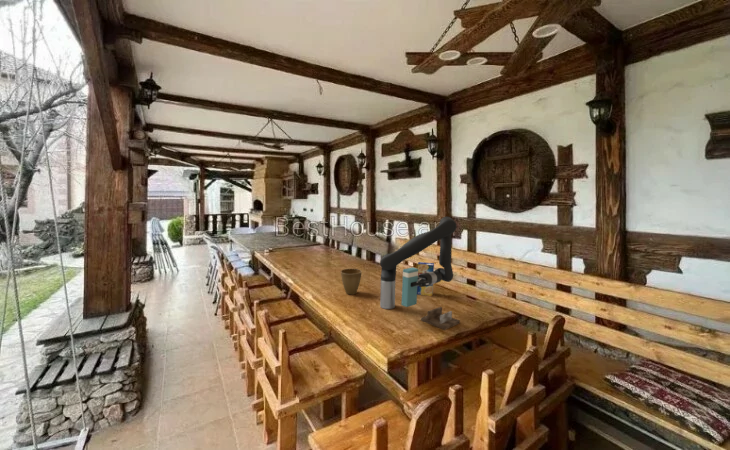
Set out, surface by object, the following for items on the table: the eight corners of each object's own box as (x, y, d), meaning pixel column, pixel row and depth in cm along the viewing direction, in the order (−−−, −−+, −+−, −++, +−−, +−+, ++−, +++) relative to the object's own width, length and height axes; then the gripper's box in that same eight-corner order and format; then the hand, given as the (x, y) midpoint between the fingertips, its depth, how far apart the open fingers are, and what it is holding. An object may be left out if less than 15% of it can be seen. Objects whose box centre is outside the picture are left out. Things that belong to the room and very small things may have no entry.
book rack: (435, 314, 186) (436, 304, 185) (459, 323, 174) (460, 312, 173) (420, 320, 177) (421, 310, 176) (444, 330, 165) (445, 318, 164)
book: (411, 301, 178) (412, 267, 176) (416, 304, 175) (418, 268, 173) (401, 304, 173) (403, 269, 171) (406, 307, 170) (408, 271, 168)
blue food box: (432, 296, 220) (433, 265, 218) (416, 294, 223) (417, 264, 221) (433, 293, 226) (434, 263, 224) (417, 291, 229) (418, 262, 227)
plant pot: (338, 291, 228) (338, 269, 227) (357, 289, 233) (357, 267, 232) (344, 297, 214) (344, 274, 213) (364, 295, 220) (364, 272, 218)
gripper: (418, 270, 188) (398, 274, 177) (437, 275, 177) (418, 280, 166) (417, 282, 189) (397, 287, 178) (437, 288, 178) (417, 294, 167)
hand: (407, 283), depth 172 cm, fingers closed on book, 4 cm apart
